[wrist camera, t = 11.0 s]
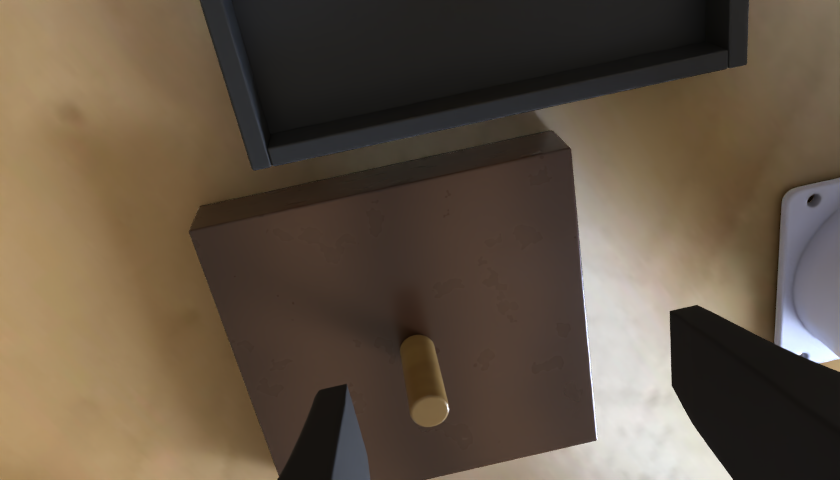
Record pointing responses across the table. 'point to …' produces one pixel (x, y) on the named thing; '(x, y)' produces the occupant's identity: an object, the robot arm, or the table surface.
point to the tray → (446, 62)
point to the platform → (414, 306)
